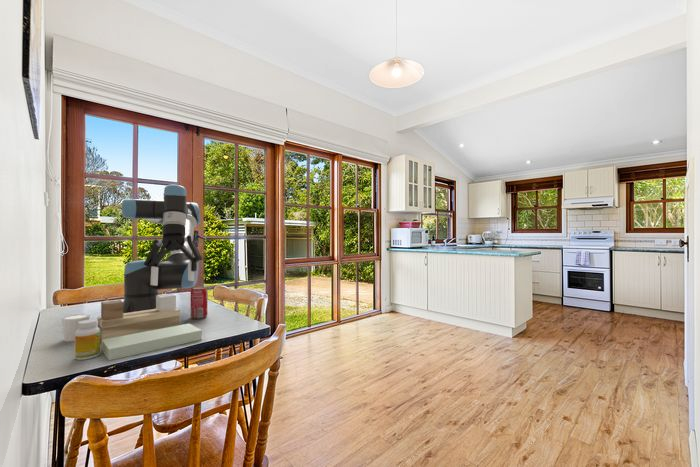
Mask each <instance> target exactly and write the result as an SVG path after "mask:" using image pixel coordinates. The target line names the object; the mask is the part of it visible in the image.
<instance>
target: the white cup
mask: <svg viewBox="0 0 700 467" xmlns="http://www.w3.org/2000/svg"><path fill="white" fill-rule="evenodd" d="M90 318H91V317H90V314H73V315H69V316H64V317H62V318H61V324H62V331H63V332H62V334H63V341H64V342H75V332H76V331H77V330H79V328H78V322H80V321H84V320H90Z"/></svg>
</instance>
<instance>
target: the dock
mask: <svg viewBox="0 0 700 467" xmlns="http://www.w3.org/2000/svg"><path fill="white" fill-rule="evenodd" d="M202 330H203V329H201V328H198V327H197V326H194V325H193V324H191V323H185V324H180V325H178V326H173V327H167V328H162V329H157V330H151V331H146V332H140V333H135V334H130V335H124V336H119V337H114V338H108V339H103V340H102V343H101V351H102V352H103V354H104V356H105V357H106V359H107V360H108V361H112V360H117V359H121V358H126V357H129V356H134V355H139V354H143V353H148V352H151V351H152V352H153V351H157V350H161V349H166V348H170V347H174V346H175V347H176V346H179V345H183V344H187V343H193V342H196V341H201V340H202V337H203V335H202V334H203V333H202Z"/></svg>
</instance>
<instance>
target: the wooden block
mask: <svg viewBox="0 0 700 467" xmlns="http://www.w3.org/2000/svg"><path fill="white" fill-rule="evenodd" d="M180 313H181V312H180V309H179V308H177V307H176V310H170V311H163V312H160V311H158V310H156V309H151V310H144V311H137V312H130V313H123V318H117V319H110V320H103V319H102V318H101V316H97V327H98V328H99V329H100V344H102V340H103V339H108V338H114V337H119V336H124V335H130V334H135V333H140V332H146V331H151V330H157V329H162V328H167V327H173V326H178V325H181V324H180V321H181V320H180V318H181V317H180V316H181V315H180Z"/></svg>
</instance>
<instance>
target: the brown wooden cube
mask: <svg viewBox="0 0 700 467" xmlns="http://www.w3.org/2000/svg"><path fill="white" fill-rule="evenodd" d="M100 317H101V318H102V319H103V320H110V319H117V318H123V300H121V299H116V300H107V301H101V302H100Z"/></svg>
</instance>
